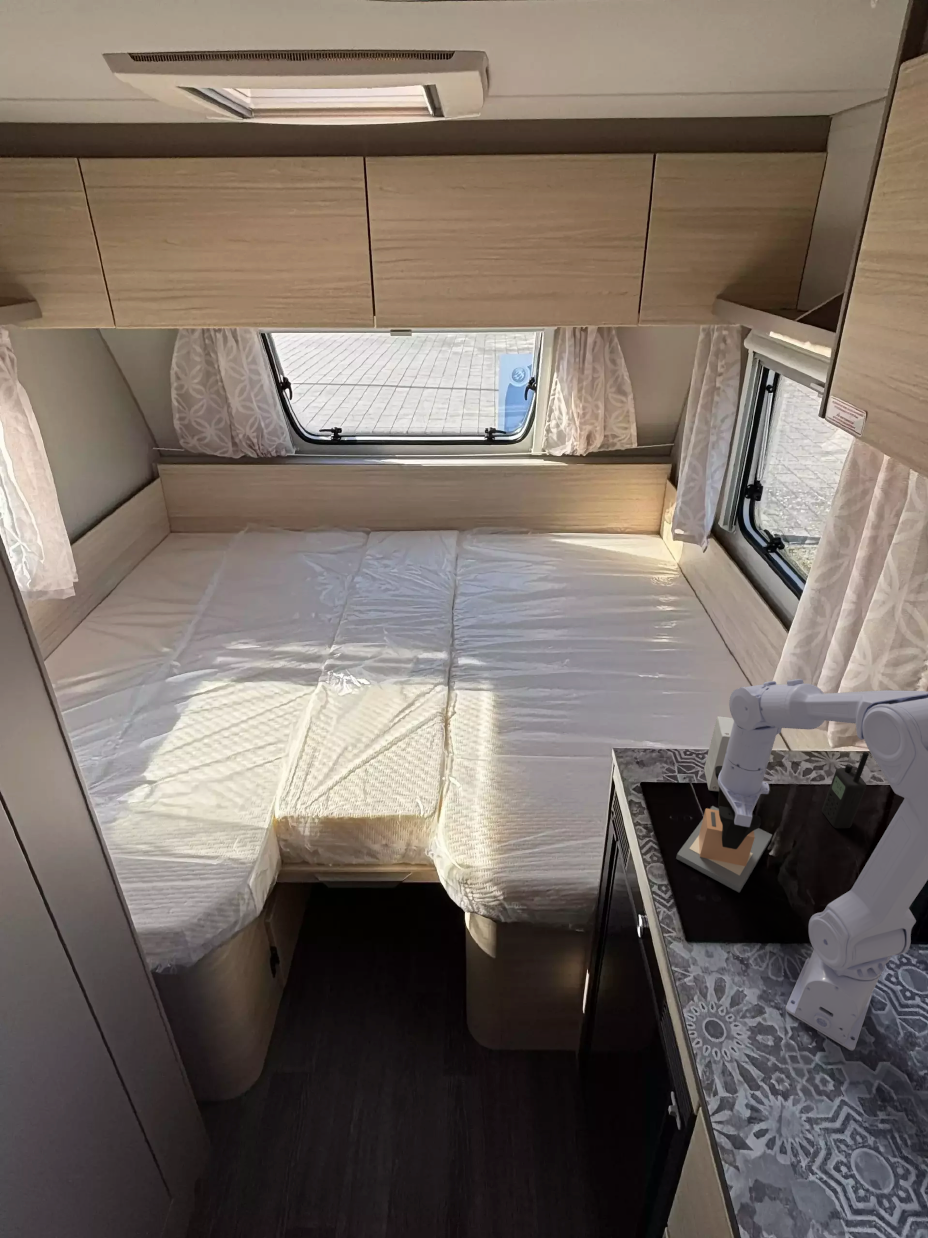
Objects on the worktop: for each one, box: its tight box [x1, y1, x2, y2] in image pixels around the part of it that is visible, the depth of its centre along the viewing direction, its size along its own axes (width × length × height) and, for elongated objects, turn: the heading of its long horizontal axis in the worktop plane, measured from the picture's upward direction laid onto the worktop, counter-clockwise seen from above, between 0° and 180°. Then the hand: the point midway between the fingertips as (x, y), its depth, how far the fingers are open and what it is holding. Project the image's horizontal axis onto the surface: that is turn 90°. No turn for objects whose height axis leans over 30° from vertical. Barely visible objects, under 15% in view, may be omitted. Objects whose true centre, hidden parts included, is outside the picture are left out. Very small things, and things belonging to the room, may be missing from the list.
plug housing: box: [699, 807, 755, 866], centre depth 108 cm, size 4×7×6 cm, turn 76°
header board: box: [675, 805, 773, 893], centre depth 110 cm, size 14×10×4 cm
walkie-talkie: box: [821, 751, 870, 829], centre depth 114 cm, size 5×3×15 cm
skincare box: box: [703, 715, 734, 792], centre depth 123 cm, size 6×4×12 cm
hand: (727, 828), depth 107 cm, fingers open, 7 cm apart
